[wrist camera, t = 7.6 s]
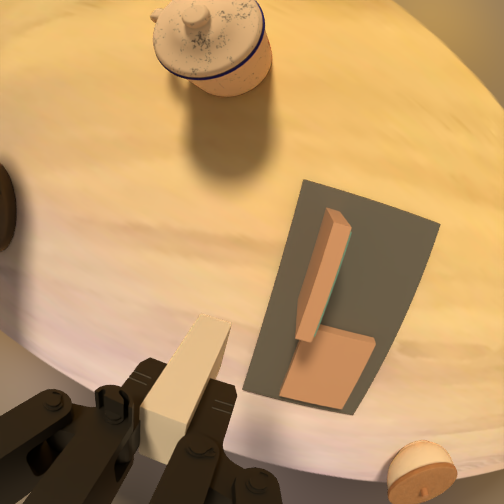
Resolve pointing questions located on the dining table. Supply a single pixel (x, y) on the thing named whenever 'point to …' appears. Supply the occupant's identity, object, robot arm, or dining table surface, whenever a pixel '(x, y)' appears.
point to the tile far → (327, 367)
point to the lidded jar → (419, 473)
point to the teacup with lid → (213, 44)
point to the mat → (344, 284)
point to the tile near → (321, 273)
